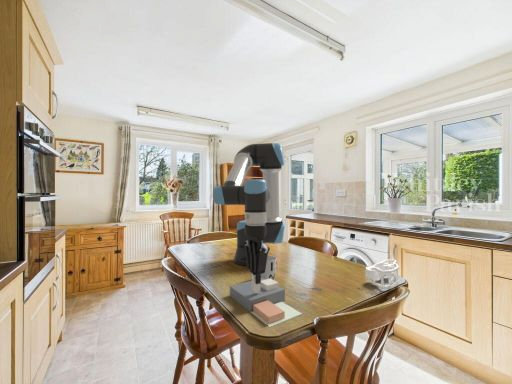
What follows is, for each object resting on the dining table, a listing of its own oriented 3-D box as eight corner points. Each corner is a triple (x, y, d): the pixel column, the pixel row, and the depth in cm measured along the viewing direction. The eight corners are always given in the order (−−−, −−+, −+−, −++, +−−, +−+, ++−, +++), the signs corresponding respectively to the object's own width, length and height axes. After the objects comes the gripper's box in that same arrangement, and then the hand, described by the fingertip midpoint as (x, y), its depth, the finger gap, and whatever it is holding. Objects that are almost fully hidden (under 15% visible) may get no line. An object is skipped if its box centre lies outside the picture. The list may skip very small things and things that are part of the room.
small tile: (259, 286, 88) (259, 281, 88) (270, 283, 91) (270, 278, 91) (267, 291, 84) (267, 285, 84) (278, 287, 87) (278, 282, 87)
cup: (271, 285, 99) (271, 261, 99) (255, 281, 103) (254, 258, 103) (279, 279, 106) (279, 257, 106) (264, 275, 110) (264, 254, 110)
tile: (252, 310, 77) (252, 304, 77) (267, 306, 80) (267, 300, 80) (268, 323, 69) (268, 317, 69) (284, 317, 73) (284, 311, 73)
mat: (250, 313, 76) (250, 312, 76) (281, 302, 84) (281, 301, 84) (269, 328, 68) (269, 326, 68) (301, 314, 75) (301, 313, 75)
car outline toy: (383, 272, 114) (383, 257, 114) (408, 279, 105) (408, 263, 105) (361, 282, 102) (361, 265, 102) (387, 290, 93) (387, 272, 93)
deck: (230, 296, 88) (229, 286, 88) (262, 287, 97) (262, 277, 97) (250, 312, 77) (250, 300, 77) (284, 300, 85) (284, 289, 85)
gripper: (236, 222, 84) (237, 288, 85) (257, 227, 74) (258, 302, 74) (253, 221, 89) (254, 283, 89) (276, 225, 78) (276, 295, 78)
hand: (256, 291), depth 82 cm, fingers closed
